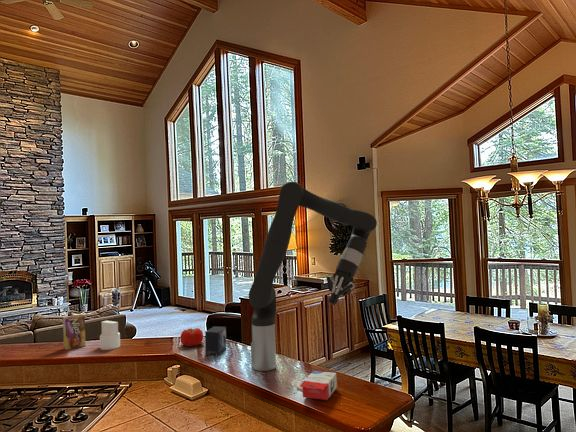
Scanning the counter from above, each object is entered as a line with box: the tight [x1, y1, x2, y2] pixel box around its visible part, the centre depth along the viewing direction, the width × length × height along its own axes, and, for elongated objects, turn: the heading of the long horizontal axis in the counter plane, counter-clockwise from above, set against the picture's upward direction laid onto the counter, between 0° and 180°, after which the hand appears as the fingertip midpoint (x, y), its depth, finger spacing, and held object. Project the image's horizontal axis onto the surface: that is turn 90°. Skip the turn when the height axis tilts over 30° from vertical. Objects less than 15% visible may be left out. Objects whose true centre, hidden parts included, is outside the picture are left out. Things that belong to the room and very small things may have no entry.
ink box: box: [300, 370, 338, 401], centre depth 139 cm, size 8×5×15 cm
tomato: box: [179, 327, 204, 348], centre depth 204 cm, size 11×11×8 cm
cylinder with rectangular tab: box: [99, 320, 121, 351], centre depth 204 cm, size 9×9×12 cm
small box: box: [204, 325, 227, 357], centre depth 191 cm, size 11×6×10 cm, turn 168°
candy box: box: [62, 313, 86, 351], centre depth 205 cm, size 9×4×15 cm, turn 133°
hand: (331, 304), depth 158 cm, fingers closed
